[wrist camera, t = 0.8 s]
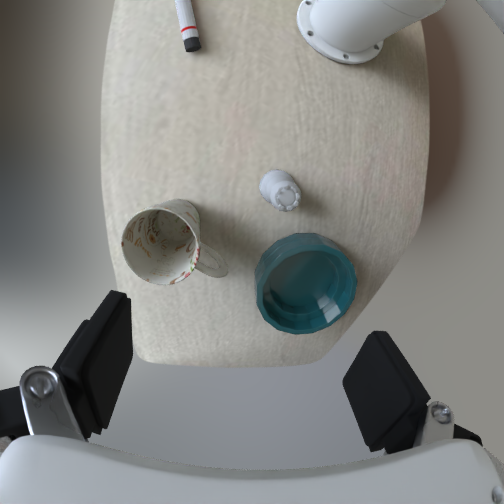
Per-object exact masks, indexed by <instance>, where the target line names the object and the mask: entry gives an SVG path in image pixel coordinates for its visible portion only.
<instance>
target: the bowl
mask: <svg viewBox="0 0 504 504" xmlns="http://www.w3.org/2000/svg"><path fill="white" fill-rule="evenodd" d="M356 287H357V278H356V274H355V269H354V266H353V264H352V263H351V262H350V261H349V259H348V258H347V257H346V256H345V255H344V254H343V252H342V251H341V250H340V249H339V248H338V247H337V246H336V245H335V244H334V242H333V241H331V240H330V239H327V238H325V237H323V236H320V235H318V234H315V233H296V234H293V235H290V236H288V237H285V238H283V239H280V240H278V241H276V242H275V243H274V244H273V245H272V246H271V247H270V248H269V249H268V250H267V251H266V252H265V253H264V254H263V255H262V256H261V259H260V261H259V263H258V265H257V267H256V269H255V295H256V303H257V306H258V308H259V310H260V312H261V314H262V316H263V318H264V320H265V321H267V322H268V323H269V324H271V325H272V326H273V327H274V328H276V329H277V330H280V331H283V332H287V333H291V334H295V335H296V334H309V333H314V332H317V331H319V330H322V329H324V328H327V327H329V326H331V325H332V324H333V323H334V322H336V321H337V320H338V319H339V318H341V317H342V316H343V315H344V314H345V313H346V311H347V310H348V308H349V307H350V305H351V303H352V302H353V300H354V297H355V292H356Z"/></svg>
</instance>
